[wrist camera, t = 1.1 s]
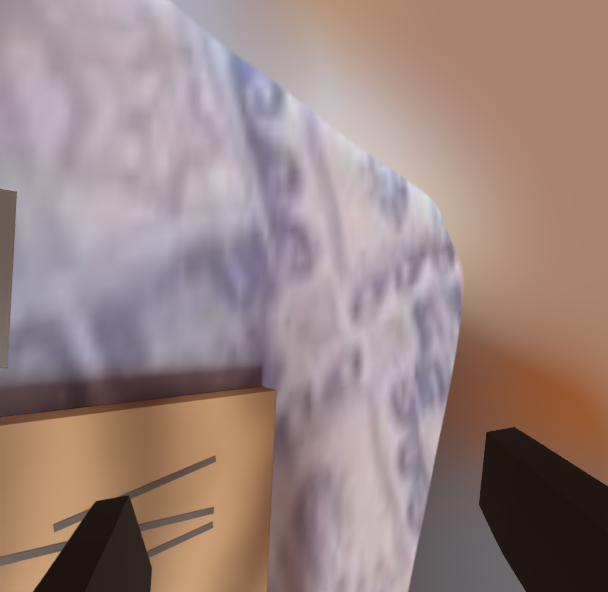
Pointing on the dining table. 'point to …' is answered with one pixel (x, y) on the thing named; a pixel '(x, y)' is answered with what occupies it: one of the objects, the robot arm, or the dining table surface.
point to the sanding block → (6, 267)
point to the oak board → (145, 486)
